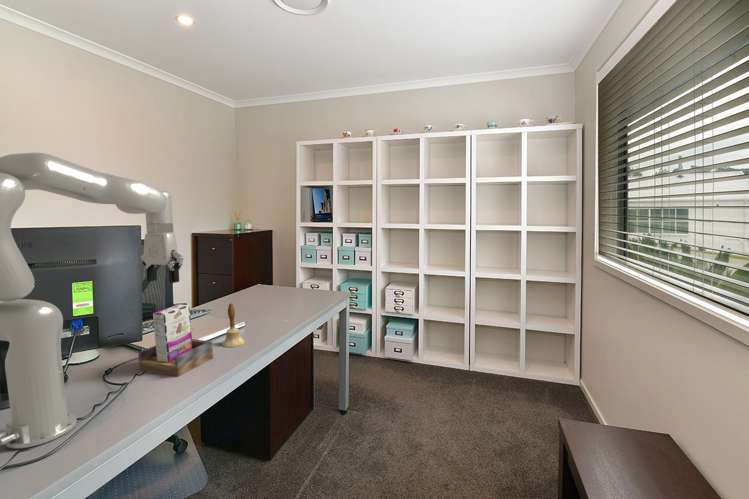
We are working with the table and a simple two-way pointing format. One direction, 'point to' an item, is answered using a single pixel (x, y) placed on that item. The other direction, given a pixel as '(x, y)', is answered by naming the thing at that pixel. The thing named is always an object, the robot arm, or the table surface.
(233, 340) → the hand bell
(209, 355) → the wooden tray
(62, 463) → the table surface
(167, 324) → the candy bar box
